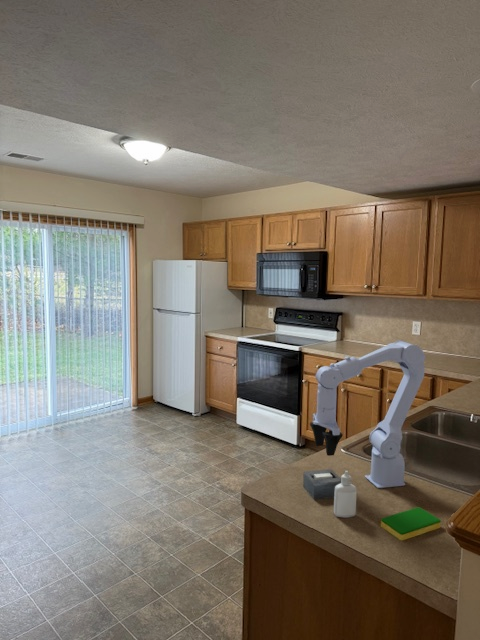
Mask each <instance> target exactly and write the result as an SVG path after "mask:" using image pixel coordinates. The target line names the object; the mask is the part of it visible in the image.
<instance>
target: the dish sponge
mask: <svg viewBox="0 0 480 640" xmlns="http://www.w3.org/2000/svg"><path fill="white" fill-rule="evenodd" d="M441 521H442V520H441V519H440V518H439V517H436V516H435V515H434V514H432V513H430V512H429V511H427V510H425V509H423V508H422V507H419V506H418V507H414V508H412V509H411V508H410V509H407V510H404V511H401V512H396V513H394V514H391V515H388V516H384V517H381V519H380V527H381V528H382V529H384V530H385V531H387V532H388V533H389V534H391V535H393V537H395V538H397V539H398V540H400V541H405V540H408V539H411V538H414V537H417V536H419V535H423V534H425V533H428V532H431V531H434V530H437V529H440V528H441V523H442V522H441Z"/></svg>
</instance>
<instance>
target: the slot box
mask: <svg viewBox="0 0 480 640" xmlns="http://www.w3.org/2000/svg"><path fill="white" fill-rule="evenodd" d="M324 473H330V474H331V475H332V478H329V479H319V480H314V474H324ZM340 483H341V477H340V476H339V475H338V474H337V473H336V472H335V471H334V470H333V469H331V468H329V469H327V468H326V469H320V470H319V469H318V470H306V471H303V481H302V486H303V488H304V489H305V491H306V492H307V493H308V495H310V497H311V498H312V500H320V499H329V498H334V492H335V486H336V485H338V484H340Z"/></svg>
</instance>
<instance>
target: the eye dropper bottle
mask: <svg viewBox="0 0 480 640" xmlns="http://www.w3.org/2000/svg"><path fill="white" fill-rule="evenodd" d="M340 478H341V483H340V484H338V485H336V486H335V492H334V497H333V514H334V515H335V516H336V517H337V518H352V517H355V516H356V514H357V513H356V512H357V496H358V495H357V494H358V493H357V492H358V491H357V489H358V488H357V487H356V486H355V485H354V484H352V476H351V475H349V470H345V471H344V474H342V475H341V477H340Z"/></svg>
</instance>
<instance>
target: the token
mask: <svg viewBox="0 0 480 640" xmlns="http://www.w3.org/2000/svg"><path fill="white" fill-rule="evenodd" d="M329 478H332V475H331V474H330V473H324V474H314V480H319V479H329Z"/></svg>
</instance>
